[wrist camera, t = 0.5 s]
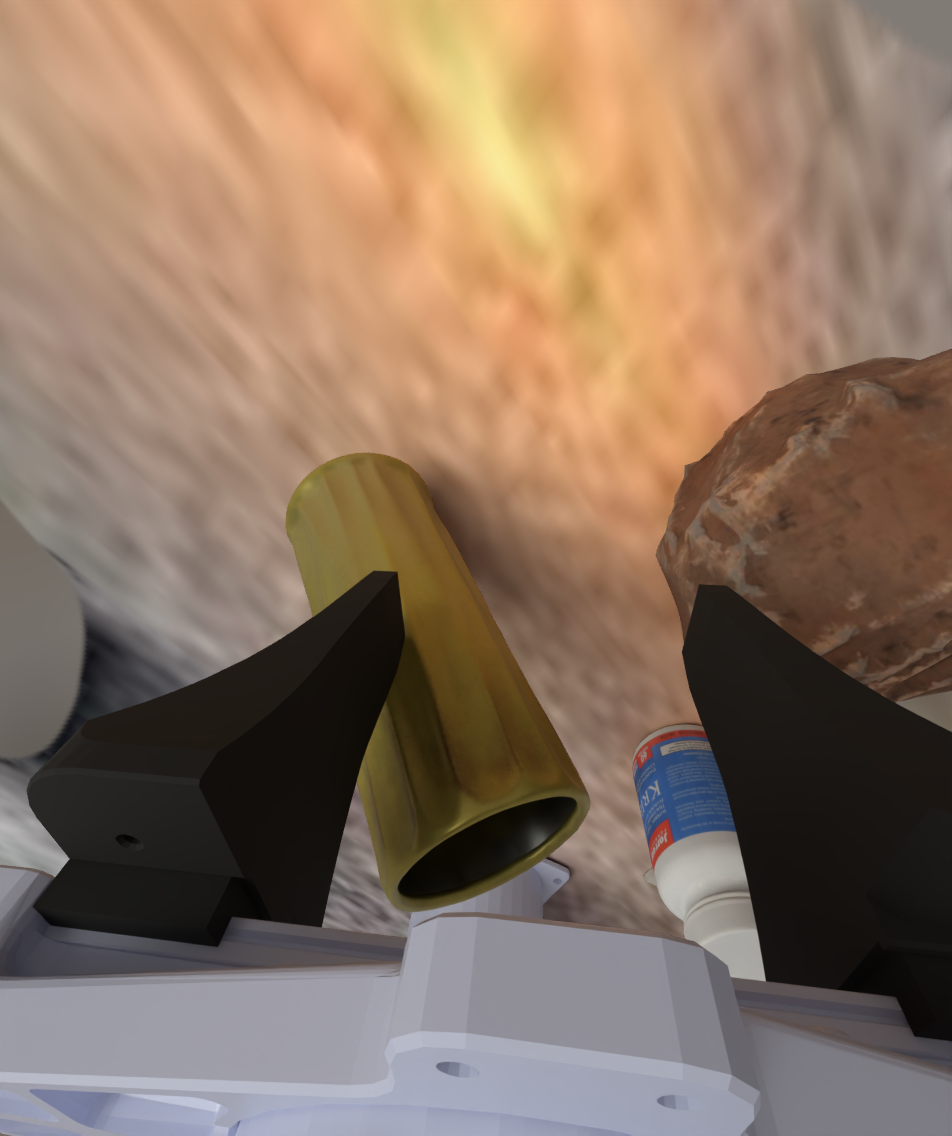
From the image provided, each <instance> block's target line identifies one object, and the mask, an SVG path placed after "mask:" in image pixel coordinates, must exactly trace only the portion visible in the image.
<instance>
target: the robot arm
mask: <svg viewBox="0 0 952 1136" xmlns="http://www.w3.org/2000/svg"><path fill="white" fill-rule="evenodd" d="M404 640H405V629H404V621H403V612H402V604H401V596H400V588H399V579H398V572H396V571H373V572H371V573H370V574H368V575H367V576H366V577H364V578H363V579H362V580H361V581H359V582H358V583H357V584H356V585H354V586H353V587H352V588H350V589H349V590H348V591H347V592H345V593H344V594H343V595H342V596H340V597H339V598H338V599H336V600H335V601H334V602H333V603H331V604H330V605H329V606H327V607H326V608H325V609H324V610H322V611H321V612H320V613H318V614H317V615H315V616H314V617H312V618H311V619H309V620H308V621H307V622H305V623H304V624H302V625H301V626H299V627H298V628H297V629H295V630H294V631H292V632H291V633H289V634H288V635H286V636H285V637H283V638H281V639H280V640H278V641H277V642H275V643H273V644H272V645H270V646H268V647H266V648H265V649H263V650H261V651H259V652H258V653H256V654H254V655H252V656H250V657H249V658H247V659H245V660H243V661H241V662H239V663H237V664H234V665H232V666H230V667H228V668H226V669H224V670H222V671H220V672H218V673H216V674H214V675H212V676H210V677H208V678H205V679H203V680H201V681H198V682H196V683H194V684H191V685H189V686H186V687H184V688H181V689H179V690H176V691H174V692H171V693H169V694H166V695H163V696H161V697H158V698H155V699H152V700H150V701H147V702H144V703H141V704H138V705H135V706H132V707H129V708H125V709H122V710H119V711H116V712H113V713H110V714H107V715H104V716H101V717H97V718H94V719H90V720H88V721H87V722H86V723H85V724H84V725H83V726H82V727H81V728H80V729H79V730H78V731H77V732H76V733H75V734H74V735H73V736H72V737H71V738H70V739H69V740H68V741H67V742H66V743H65V744H64V745H63V746H62V747H61V748H60V749H59V750H58V751H57V752H56V753H55V754H54V755H53V757H52V758H51V759H50V760H49V761H48V762H47V763H46V764H45V765H44V766H43V767H42V768H41V769H40V770H39V771H38V772H37V773H36V774H35V775H34V776H33V777H32V778H31V779H30V782H29V785H28V787H27V795H28V800H29V805H30V807H31V809H32V811H33V812H34V814H35V815H36V817H37V819H38V820H39V821H40V822H41V824H42V825H43V826H44V827H45V828H46V830H47V831H48V832H49V833H50V835H51V836H52V837H53V838H54V840H55V841H56V842H57V843H58V845H59V846H60V847H61V848H62V850H63V851H64V852H65V853H66V855H67V856H68V857H69V858H70V859H69V861H68V862H67V863H66V864H65V866H64V867H63V868H62V870H61V871H60V872H59V873H58V875H57V876H56V877H53V876H52V875H50V874H48V873H46V872H44V871H41V870H37V869H33V868H24V867H16V866H7V865H0V1133H3V1134H7V1135H12V1136H952V732H951V731H949V730H947V729H945V728H943V727H941V726H939V725H937V724H935V723H933V722H931V721H929V720H927V719H925V718H923V717H921V716H919V715H917V714H915V713H914V712H912V711H910V710H908V709H906V708H904V707H902V706H900V705H899V704H897V703H895V702H893V701H891V700H889V699H888V698H886V697H884V696H882V695H881V694H879V693H877V692H876V691H874V690H872V689H871V688H869V687H867V686H866V685H864V684H862V683H861V682H859V681H857V680H856V679H854V678H852V677H851V676H849V675H848V674H846V673H844V672H843V671H841V670H840V669H838V668H837V667H835V666H834V665H832V664H831V663H829V662H828V661H827V660H825V659H824V658H822V657H821V656H819V655H818V654H816V653H815V652H813V651H812V650H811V649H809V648H808V647H806V646H805V645H804V644H802V643H801V642H800V641H798V640H797V639H796V638H794V637H793V636H792V635H790V634H789V633H788V632H786V631H785V630H784V629H782V628H781V627H780V626H778V625H777V624H776V623H775V622H773V621H772V620H771V619H770V618H768V617H767V616H766V615H764V614H763V613H762V612H761V611H759V610H758V609H757V608H756V607H754V606H753V605H752V604H751V603H749V602H748V601H747V600H745V599H744V598H743V597H742V596H740V595H739V594H738V593H736V592H735V591H734V590H732V589H731V588H729V587H728V586H726V585H703V584H699V586H698V590H697V594H696V598H695V602H694V606H693V610H692V614H691V618H690V622H689V626H688V630H687V634H686V638H685V642H684V646H683V650H682V654H683V659H684V665H685V670H686V675H687V679H688V684H689V688H690V691H691V694H692V697H693V700H694V703H695V706H696V708H697V711H698V714H699V717H700V720H701V722H702V725H703V728H704V730H705V733H706V736H707V739H708V741H709V744H710V747H711V749H712V752H713V755H714V758H715V760H716V763H717V766H718V768H719V771H720V774H721V777H722V780H723V783H724V787H725V790H726V793H727V797H728V801H729V805H730V809H731V813H732V817H733V821H734V825H735V829H736V833H737V837H738V842H739V846H740V851H741V855H742V860H743V864H744V869H745V873H746V878H747V882H748V887H749V892H750V897H751V903H752V908H753V913H754V918H755V923H756V928H757V933H758V938H759V944H760V950H761V956H762V962H763V967H764V973H765V979H766V981H758V980H750V979H742V978H734V977H730V973H729V969H728V965H726V964H725V963H724V962H723V961H721V960H720V959H719V958H718V957H716V956H715V955H713V954H712V953H711V952H709V951H708V950H706V949H705V948H703V947H702V946H701V945H699V944H698V943H696V942H695V941H691V940H687V939H683V938H679V937H675V936H671V935H667V934H663V933H659V932H651V931H642V930H633V929H624V928H615V927H607V926H598V925H589V924H580V923H571V922H563V921H554V920H545V919H543V904H544V903H545V902H546V901H547V900H548V899H549V898H550V897H551V896H552V895H553V894H554V893H555V892H556V891H557V890H558V889H559V888H560V887H561V886H562V885H564V884H565V883H566V882H567V881H568V880H569V878H570V873H569V870H568V869H567V868H566V867H564V866H561V865H559V864H557V863H555V862H552V861H550V860H548V859H546V858H545V859H544V860H542V861H541V862H540V863H538V864H537V865H535V866H534V867H532V868H530V869H529V870H527V871H526V872H524V873H522V874H521V875H519V876H517V877H515V878H514V879H512V880H510V881H508V882H506V883H504V884H502V885H500V886H498V887H496V888H494V889H492V890H490V891H488V892H486V893H483V894H481V895H479V896H476V897H474V898H471V899H469V900H466V901H463V902H460V903H457V904H454V905H450V906H446V907H442V908H438V909H434V910H428V911H422V912H412V915H411V919H410V924H409V929H408V934H407V938H404V937H395V936H387V935H379V934H371V933H362V932H354V931H346V930H338V929H329V928H322V923H323V919H324V914H325V909H326V904H327V900H328V895H329V890H330V886H331V882H332V877H333V873H334V869H335V864H336V860H337V856H338V852H339V847H340V843H341V839H342V835H343V831H344V827H345V823H346V819H347V816H348V812H349V808H350V804H351V800H352V796H353V793H354V789H355V785H356V782H357V778H358V775H359V771H360V767H361V764H362V761H363V758H364V755H365V752H366V749H367V746H368V743H369V741H370V738H371V736H372V733H373V731H374V728H375V726H376V723H377V721H378V718H379V716H380V713H381V711H382V708H383V706H384V703H385V701H386V698H387V696H388V693H389V690H390V688H391V685H392V683H393V680H394V677H395V675H396V672H397V669H398V665H399V661H400V657H401V653H402V649H403V644H404Z"/></svg>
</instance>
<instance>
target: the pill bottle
mask: <svg viewBox="0 0 952 1136" xmlns="http://www.w3.org/2000/svg"><path fill="white" fill-rule="evenodd" d="M632 770H633V777H634V782H635V786H636V791H637V795H638V800H639V805H640V810H641V814H642V819H643V823H644V828H645V833H646V838H647V842H648V847H649V852H650V856H651V862H652V866H653V870H654V875H655V879H656V883H657V887H658V891H659V893H660V896H661V898H662V900H663V902H664V903H665V905H666V906H667V907H668V909H669V910H670V911H671V912H672V913H673V914H674V915H676V916H677V917H678V918H679V919H681V920H682V921H684V922H683V925H684V936H685V939H687V940H691V941H695V942H696V943H698V944H699V945H701V946H702V947H703V948H705V949H706V950H708V951H709V952H711V953H712V954H713V955H715V956H716V957H718V958H719V959H720V960H721V961H723V962H724V963H725V964H726V965H728V969H729V973H730V977H734V978H742V979H750V980H758V981H766V979H765V973H764V967H763V962H762V956H761V950H760V944H759V938H758V933H757V928H756V923H755V918H754V913H753V908H752V903H751V897H750V892H749V887H748V882H747V878H746V873H745V869H744V864H743V860H742V855H741V851H740V846H739V842H738V837H737V833H736V829H735V825H734V821H733V817H732V813H731V809H730V805H729V801H728V797H727V793H726V790H725V787H724V783H723V780H722V777H721V774H720V771H719V768H718V766H717V763H716V760H715V758H714V755H713V752H712V749H711V747H710V744H709V741H708V739H707V736H706V733H705V730H704V728H703V727H702V726H698V725H688V724H681V725H673V726H668V727H665V728H662V729H659V730H657V731H655V732H653V733H652V734H650V735H649V736H647V737H646V738H645V739H644V740H643V741H642V742H641V743H640V744H639V746H638V747H637V749H636V751H635V753H634V756H633V760H632Z"/></svg>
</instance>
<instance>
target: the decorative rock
mask: <svg viewBox="0 0 952 1136" xmlns="http://www.w3.org/2000/svg"><path fill="white" fill-rule="evenodd" d="M656 557H657V559H658V562H659V564H660V566H661V569H662V571H663V573H664V575H665V578H666V580H667V583H668V585H669V587H670V590H671V592H672V595H673V597H674V600H675V602H676V605H677V608H678V610H679V614H680V619H681V624H682V631H683V638H684V642H685V638H686V634H687V630H688V626H689V622H690V618H691V614H692V610H693V606H694V602H695V598H696V594H697V590H698V586H699V584H703V585H726V586H728V587H729V588H731V589H732V590H734V591H735V592H736V593H738V594H739V595H740V596H742V597H743V598H744V599H745V600H747V601H748V602H749V603H751V604H752V605H753V606H754V607H756V608H757V609H758V610H759V611H761V612H762V613H763V614H764V615H766V616H767V617H768V618H770V619H771V620H772V621H773V622H775V623H776V624H777V625H778V626H780V627H781V628H782V629H784V630H785V631H786V632H788V633H789V634H790V635H792V636H793V637H794V638H796V639H797V640H798V641H800V642H801V643H802V644H804V645H805V646H806V647H808V648H809V649H811V650H812V651H813V652H815V653H816V654H818V655H819V656H821V657H822V658H824V659H825V660H827V661H828V662H829V663H831V664H832V665H834V666H835V667H837V668H838V669H840V670H841V671H843V672H844V673H846V674H848V675H849V676H851V677H852V678H854V679H856V680H857V681H859V682H861V683H862V684H864V685H866V686H867V687H869V688H871V689H872V690H874V691H876V692H877V693H879V694H881V695H882V696H884V697H886V698H888V699H889V700H891V701H893V702H895V703H896V702H899V701H905V700H909V699H913V698H918V697H922V696H927V695H932V694H938V693H943V692H948V691H952V349H950V350H947V351H944V352H941V353H939V354H936V355H933V356H930V357H928V358H925V359H922V360H920V361H919V360H915V359H910V358H895V357H890V358H873V359H870V360H867V361H864V362H861V363H858V364H855V365H851V366H848V367H844V368H840V369H836V370H832V371H828V372H824V373H820V374H806V375H804V376H803V377H801V378H799V379H797V380H795V381H794V382H792V383H790V384H788V385H786V386H784V387H782V388H779V389H775V390H772V391H769V392H767V393H766V394H765V396H764V397H763V398H762V399H761V401H760V402H759V403H758V404H757V405H755V406H754V407H753V408H752V409H750V410H749V411H748V412H747V413H745V414H744V415H743V416H742V417H741V418H740V419H738V420H737V421H735V422H733V423H732V424H731V425H730V427H729V428H728V429H727V430H726V431H725V432H724V435H723V438H722V439H721V440H719V441H718V442H717V444H716V445H715V446H714V447H713V448H712V450H711V451H710V452H709V453H708V454H707V455H705V456H704V457H703V458H702V459H701V460H699V461H697V462H694V463H691V464H688V465H685V476H684V479H683V481H682V483H681V485H680V487H679V489H678V491H677V493H676V495H675V502H674V508H673V510H672V513H671V515H670V516H669V518H668V524H667V529H666V532H665V534H664V536H663V538H662V540H661V542H660V544H659V546H658V549H657V553H656Z"/></svg>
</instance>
